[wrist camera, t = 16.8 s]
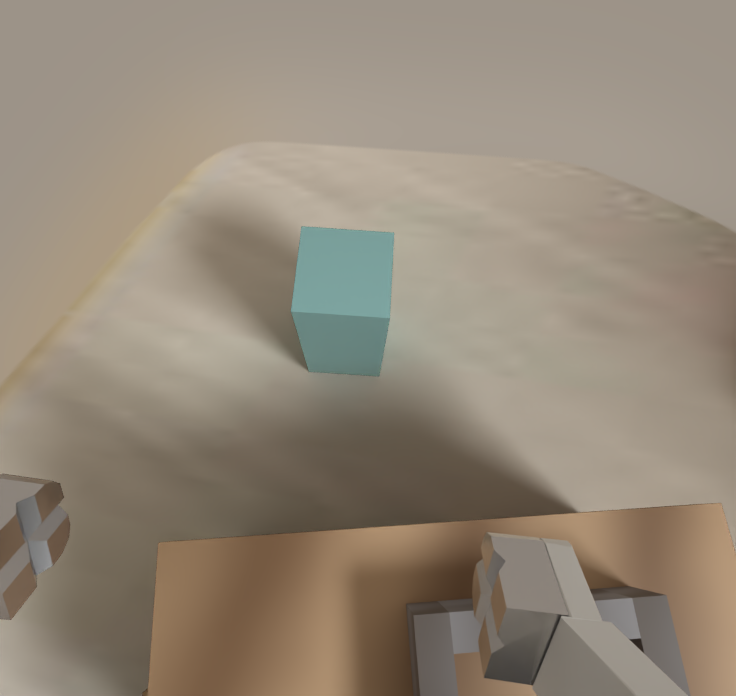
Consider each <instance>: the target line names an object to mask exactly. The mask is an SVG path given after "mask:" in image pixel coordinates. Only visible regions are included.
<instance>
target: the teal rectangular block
mask: <svg viewBox="0 0 736 696" xmlns="http://www.w3.org/2000/svg"><path fill="white" fill-rule="evenodd" d="M393 245H394V233H390V232H376V231H362V230H347V229H333V228H318V227H304V226H302V227H301V235H300V243H299V251H298V259H297V267H296V275H295V283H294V291H293V299H292V307H291V313H292V317H293V320H294V323H295V327H296V330H297V333H298V337H299V340H300V344H301V347H302V350H303V354H304V357H305V360H306V364H307V367H308V370H309V372H322V373H337V374H352V375H366V376H379V375H380V369H381V364H382V358H383V353H384V347H385V342H386V336H387V331H388V325H389V320H390V304H391V285H392V265H393Z"/></svg>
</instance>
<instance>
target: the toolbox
mask: <svg viewBox="0 0 736 696" xmlns="http://www.w3.org/2000/svg"><path fill="white" fill-rule="evenodd" d="M487 532H491V533H500V534H509V535H518V536H528V537H537V538H547V539H556V540H565V541H568V542H569V543H570V544H571V545H572V547H573V550H574V552H575V555H576V557H577V559H578V562H579V564H580V567H581V569H582V572H583V574H584V577H585V579H586V582H587V584H588V586H589V589H590V591H591V594H592V596H593V599H594V601H595V604H596V606H597V609H598V611H599V614H600V616H601V618H602V621H606V622H611V623H612V624H614V625H615V626H616V627H617V628H618V629H619V630H620V631H621V632H622V633H623V634H624V635H625V636H626V637H627V638H628V639H629V640H630V641H631V642H632V643H633V644H634V645H636V646H637V647H638V648H639V649H640V650H641V651H642V652H643V653H644V654H645V655H646V656H647V657H648V658H649V659H650V660H651V661H652V662H653V663H654V664H655V665H656V666H658V667H659V668H660V669H661V670H662V671H663V672H664V673H665V674H666V675H667V676H668V677H669V678H670V679H671V680H672V681H673V682H674V683H675V684H676V685H677V686H678V687H679V688H681V689H682V690H683V691H684V692H685V693H686V694H687V695H688V696H736V553H735V549H734V546H733V542H732V539H731V535H730V532H729V529H728V525H727V522H726V518H725V515H724V511H723V508H722V504H721V503H712V504H693V505H679V506H665V507H650V508H636V509H622V510H608V511H594V512H579V513H565V514H551V515H537V516H523V517H508V518H494V519H480V520H466V521H452V522H437V523H423V524H409V525H395V526H381V527H366V528H352V529H338V530H324V531H310V532H295V533H281V534H267V535H253V536H239V537H224V538H210V539H196V540H182V541H169V542H161V543H158V553H157V567H156V581H155V596H154V610H153V624H152V639H151V653H150V667H149V681H148V689H146V690H145V691H144V692H143V693H142V696H537V695H536V693H535V692H534V690H533V689H532V687H533V685H527V684H520V683H514V682H507V681H501V680H494V679H487V678H484V677H483V670H482V664H481V657H480V651H479V645H478V638H479V635H480V631H481V628H482V626H481V624H480V623H479V622H478V621H477V619H476V618H475V617H474V610H473V600H472V586H473V576H474V571H475V567H476V564H477V563H478V562H479V561H481V560H482V559H483V556H482V550H481V545H482V541H483V538H484V536H485V534H486V533H487Z"/></svg>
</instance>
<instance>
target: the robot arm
mask: <svg viewBox="0 0 736 696" xmlns="http://www.w3.org/2000/svg"><path fill="white" fill-rule="evenodd" d="M63 498H64V495H63V491H62V488H61V485H60V483H57V482H54V481H50V480H43V479H36V478H29V477H22V476H15V475H8V474H0V619H6V620H11V619H12V618H13V617H14V615H15V614H16V613H17V611H18V610H19V609H20V608H21V606H22V605H23V604H24V602H25V601H26V600H27V599H28V597H29V596H30V595H31V593H32V592H33V591H34V590H35V588H36V587H37V575H38V574H40V573H41V572H43V571H45V570H46V569H48V568H50V567H52V566H53V565H54V564H55V562H56V561H57V560H58V558H59V557H60V556H61V554H62V553H63V551H64V548H65V546H66V543H67V541H68V538H69V532H70V522H69V517H68V514H67V513H66V512H65V511H64V510H63V509H62V508H61V507H60V506H59V505H58V504H59V503H60V502H61V501H62V499H63ZM481 550H482V556H483V559H482V560H481V561H479V562H478V563H477V564H476V567H475V571H474V576H473V586H472V600H473V610H474V617H475V618H476V619H477V621H478V622H479V623H480V624H481V626H482V628H481V631H480V635H479V638H478V645H479V651H480V657H481V664H482V670H483V677H484V678H487V679H494V680H501V681H507V682H514V683H520V684H527V685H533V687H532V689H533V690H534V692H535V693H536V695H537V696H688V695H687V694H686V693H685V692H684V691H683V690H682V689H681V688H679V687H678V686H677V685H676V684H675V683H674V682H673V681H672V680H671V679H670V678H669V677H668V676H667V675H666V674H665V673H664V672H663V671H662V670H661V669H660V668H659V667H658V666H656V665H655V664H654V663H653V662H652V661H651V660H650V659H649V658H648V657H647V656H646V655H645V654H644V653H643V652H642V651H641V650H640V649H639V648H638V647H637V646H636V645H634V644H633V643H632V642H631V641H630V640H629V639H628V638H627V637H626V636H625V635H624V634H623V633H622V632H621V631H620V630H619V629H618V628H617V627H616V626H615V625H614V624H612V623H611V622H606V621H602V618H601V616H600V614H599V611H598V609H597V606H596V604H595V601H594V599H593V596H592V594H591V591H590V589H589V586H588V584H587V582H586V579H585V577H584V574H583V572H582V569H581V567H580V564H579V562H578V559H577V557H576V555H575V552H574V550H573V547H572V545H571V544H570V543H569V542H568V541H565V540H556V539H547V538H537V537H528V536H518V535H509V534H500V533H491V532H487V533H486V534H485V536H484V538H483V541H482V545H481Z"/></svg>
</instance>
